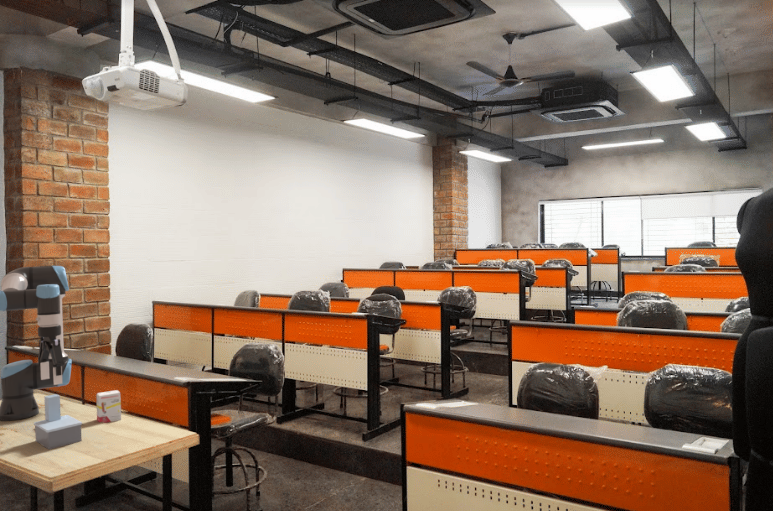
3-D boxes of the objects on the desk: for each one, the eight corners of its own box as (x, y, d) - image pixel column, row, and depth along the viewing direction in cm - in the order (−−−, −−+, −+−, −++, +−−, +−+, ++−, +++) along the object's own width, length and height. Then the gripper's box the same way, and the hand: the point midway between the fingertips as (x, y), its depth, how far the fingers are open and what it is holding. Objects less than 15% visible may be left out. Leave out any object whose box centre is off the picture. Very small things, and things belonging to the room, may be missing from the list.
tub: (35, 443, 213) (34, 424, 213) (67, 435, 221) (66, 417, 221) (48, 451, 204) (48, 432, 203) (81, 443, 212) (80, 424, 212)
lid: (34, 428, 213) (32, 398, 212) (67, 420, 221) (66, 391, 221) (47, 437, 203) (46, 405, 203) (82, 428, 212) (81, 398, 211)
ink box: (99, 424, 234) (98, 395, 233) (96, 421, 238) (95, 393, 237) (121, 420, 239) (120, 392, 238) (119, 417, 243) (118, 389, 242)
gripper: (27, 324, 220) (29, 378, 220) (50, 329, 203) (52, 388, 204) (48, 321, 226) (50, 375, 226) (72, 326, 209) (74, 384, 209)
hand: (51, 381), depth 215 cm, fingers open, 13 cm apart
